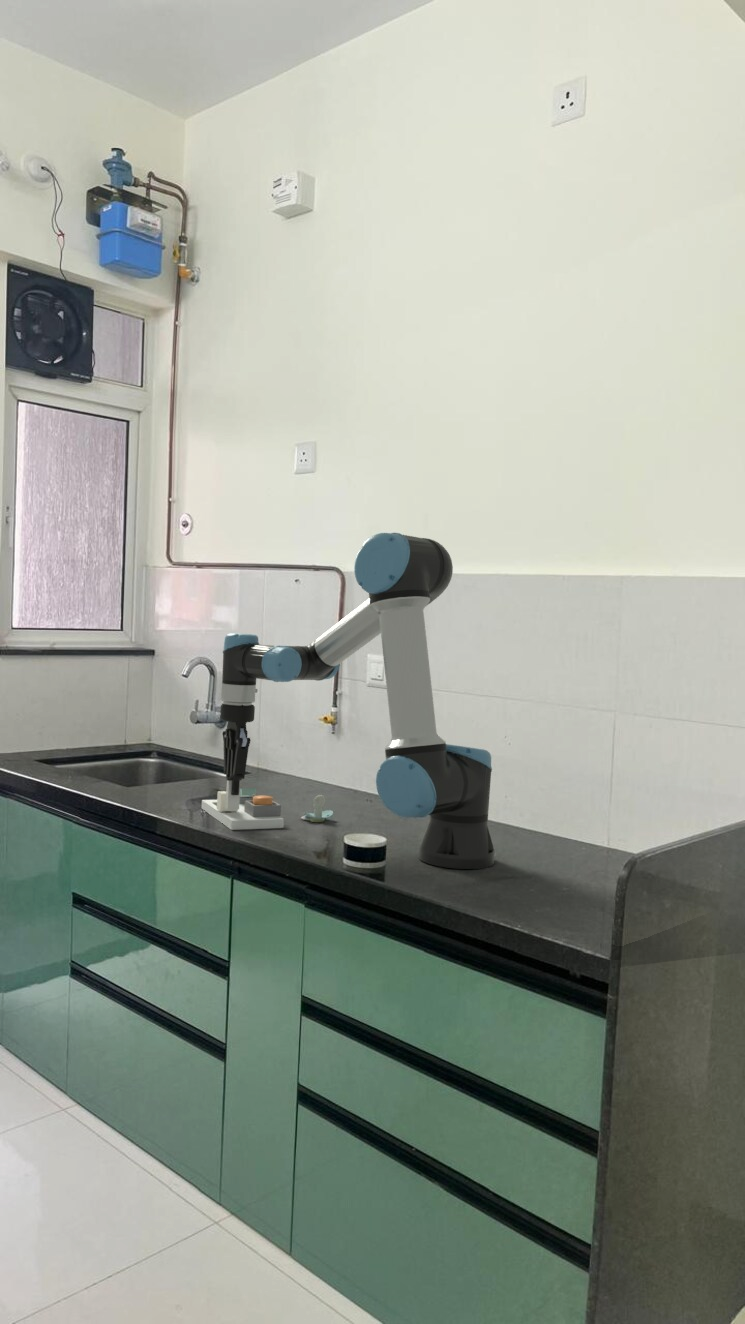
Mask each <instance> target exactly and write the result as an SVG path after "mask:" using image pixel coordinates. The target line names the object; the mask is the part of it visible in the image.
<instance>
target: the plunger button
mask: <svg viewBox="0 0 745 1324" xmlns="http://www.w3.org/2000/svg"><path fill="white" fill-rule="evenodd" d="M252 797H253V804H254V805H273V801H274V797H273V796H270V795H264V794H263V795H261V794H260V795H253V796H252Z"/></svg>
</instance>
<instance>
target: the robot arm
mask: <svg viewBox="0 0 745 1324" xmlns="http://www.w3.org/2000/svg"><path fill="white" fill-rule="evenodd" d="M453 568H454V567H453V561H452V558H451V556H450V553H449V551H448V550H447V549H446V548H445V547H444V546H443V544H441V543H439V542H438V541H436V540H435V539H430V538H427V537H426V538H425V537H420V536H419V537H417V536H413V535H406V534H402V533H399V532H391V533H390V532H380V533H376V534H374V535H372V536H370V537H368V539H366V541H364V542H363V544H362V546H361V548H360V549H359V550H358V552H357V554H356V557H355V561H354V569H353V571H354V576H355V579H356V582H357V584H358V585H359V586H360V587H361V589H362V590H363V591H365V592H366V593H368V598H367V599H366V600H364V601H363V602H362V603H361V604H360V605H358V606H357V607H356V608H354V609H353V610H352V611H351V612H349V613H348V614H347V615H345V616H344V617H343V618H341V619H340V621H338V622H337V623H335V624H334V625H332V626H331V627H330V628H329V629H328V630H326V631H325V632H324V633H323V634H321V635H320V636H319V637H318V638H316V639H315V640H313V641H312V642H311V643H310V644H308V645H303V646H302V645H301V646H300V645H270V644H260V643H259V636H258V635H256V634H251V633H250V634H248V633H228V634H226V635H225V637H224V642H223V644H224V645H223V650H222V655H223V656H222V677H221V678H222V680H221V685H220V686H221V687H220V688H221V689H220V691H221V692H220V700H221V702H222V703H221V704H220V713H219V715H220V716H219V718H220V720H221V721H222V722H227V725H226V729H225V730H222V740H223V774H224V775H225V777H226V789H225V790H226V809H227V810H233V809H239V803H240V789H241V784H242V783H241V781H242V780H244V779H245V778H246V777H245V775H246V769H247V762H248V761H247V760H248V755H249V747H250V744H251V737H248V731H247V723H252V722H254V720H255V714H256V713H255V709H256V706H255V705H254V704H253V703H256V702H255V701H256V694H257V693H258V691H259V690H258V688H257V679H261V680H266V681H273V682H275V683H289V682H293V681H324V680H330V679H333V677H335V676H336V675H337V673H338V671H339V669H340V666H341V663H343V662H344V661H345V660H347V658H349V657H351V656H352V655H353V654H355V653H356V652H357V651H359V650H361V649H362V648H363V647H364V646H366V645H367V644H368V643H370V642H371V641H372V640H374V639H375V638H377V637H378V636H379V635H380V637H381V646H382V648H381V649H382V656H383V665H384V666H383V667H384V675H385V684H386V694H387V702H388V703H387V705H388V713H389V722H390V724H389V725H390V733H391V739H390V741H389V742H388V743H387V745H386V746H385V747H384V753H385V760H384V761H383V762H382V763H381V764H380V766H379V769H378V770H377V772H376V777H375V784H376V786H375V787H376V791H377V795H378V797H379V799H380V801H381V803H382V805H384V807H385V808H387V809H388V811H390V812H391V814H393V815H395V816H397V817H400V818H404V819H413V818H414V819H418V818H420V819H421V818H425V817H427V816H429V819H428V823H427V825H426V828H425V831H424V833H423V836H422V838H421V840H420V844H419V846H418V847H419V848H418V859H419V860H420V861H422V862H423V863H426V864H429V865H433V866H437V867H441V868H449V869H458V870H477V869H485V868H489V867H491V866H493V865H494V864H495V849H494V844H493V840H492V836H491V833H490V828H489V825H488V824H489V823H488V821H489V809H490V807H489V806H490V796H491V795H490V794H491V792H490V791H491V779H492V777H491V776H492V772H493V768H492V755H491V753H490V752H489V751H488V750H486V749H484V748H475V747H469V746H463V745H454V744H448V743H446V740H444V739H443V738H442V737H440V736H439V735H438V732H437V724H436V716H435V715H436V714H435V707H434V704H435V703H434V697H433V696H434V695H433V689H432V688H433V686H432V680H431V679H432V678H431V677H432V676H431V669H430V668H431V667H430V660H429V650H428V641H427V631H426V624H425V623H426V622H425V621H426V620H425V614H424V610H425V608H426V607H428V605H430V604H432V602H434V601H435V600H437V599H438V598H439V597H440V596H441V595H442V594H443V593H444V592H445V590H446V589H448V586H449V585H450V582H451V580H452V578H453V577H452V576H453V573H454V572H453V571H454V570H453Z"/></svg>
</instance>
